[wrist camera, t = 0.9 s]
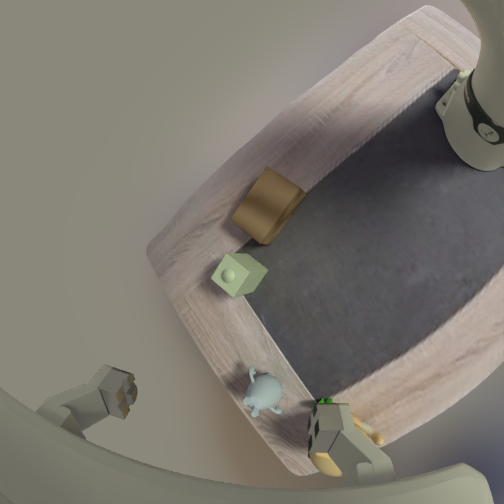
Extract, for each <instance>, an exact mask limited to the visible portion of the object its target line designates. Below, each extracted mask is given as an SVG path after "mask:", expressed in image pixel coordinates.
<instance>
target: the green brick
mask: <svg viewBox="0 0 504 504" xmlns="http://www.w3.org/2000/svg"><path fill="white" fill-rule="evenodd" d="M267 271H268V269H266V268H265V267H264V266H262V265H261V264H260V263H259V262H257V261H256V260H255V259H253V258H252V257H251V256H250V255H248V254H236V253H226V255H225V256H224V258H223V259H222V261H221V263H220V264H219V266H218V268H217V269H216V271H215V272H214V274H213V276H212V277H211V279H212V280H213V281H214V282H216V283H217V284H218V285H219V286H220V287H221V288H222V289H224V290H225V291H226V292H227V293H228V294H229V295H231V296H232V297H233V298H234V297H237V296H241V295H244V294H248V293H251V292H254V290H255V289H256V287H257V286H258V284H259V283H260V281H261V280H262V278H263V277H264V275H265V274H266V272H267Z"/></svg>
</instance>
